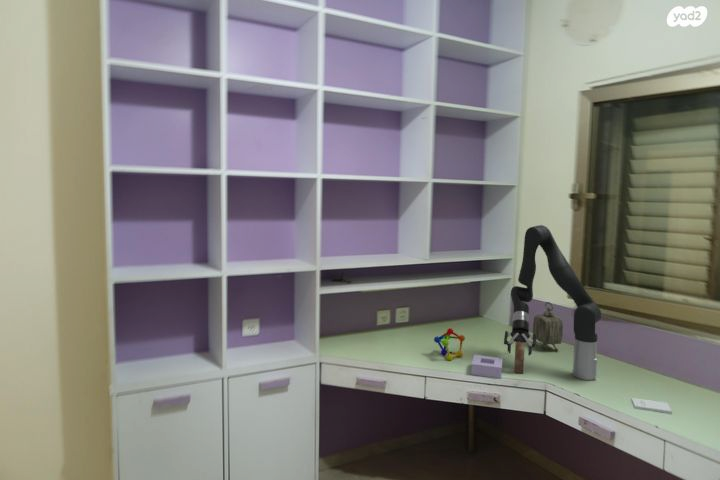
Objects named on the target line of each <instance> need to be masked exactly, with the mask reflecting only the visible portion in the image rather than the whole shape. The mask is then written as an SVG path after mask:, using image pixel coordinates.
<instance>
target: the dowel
mask: <svg viewBox="0 0 720 480" xmlns="http://www.w3.org/2000/svg"><path fill="white" fill-rule="evenodd" d="M525 345H526V344H525V342H516V341H515V346H514V347H515V348H514V349H515V350H514V368H513V369H514V371H513V372H514V373H515V374H517V375H523V374H524V369H525V368H524V367H525V366H524V363H525V349H526V348H525Z"/></svg>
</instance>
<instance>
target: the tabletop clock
mask: <svg viewBox="0 0 720 480" xmlns="http://www.w3.org/2000/svg"><path fill="white" fill-rule="evenodd" d="M547 304H548V305H550V306H551V308H550V307H547ZM544 306H545V309H546V310H545V311H544V312H543V314H536V315H534V317H533V325H532V326H533V327H532V335H533V334H536V341H537V342H540V343H542V345H541V346H540V347H541V349H542V350H543V349H545V346H546V345H552V346H553V348H554V351H555V352H559V349H558V348H557V347H556V345H560V344H562V341H563V335H564V334H563V333H564V331H563V330H564V326H563V325H564V324H563V320H562V318H561V317H559V316H558V315H555V314H554V312H553V309H554V306H553V304H552V303H551V302H550V301H549V302H548V301H547V302H545V305H544Z"/></svg>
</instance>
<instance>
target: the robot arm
mask: <svg viewBox="0 0 720 480" xmlns="http://www.w3.org/2000/svg"><path fill="white" fill-rule="evenodd" d="M524 234H525V235H524V240H523V241H524V242H523V255H522V261H521V267H520V270H519V275H518V278H517V281H518V283H519V284H521V285H523V287H522V286H518V285H517V286H516V285H514V286H513V287H512V288H511V290H510V297H511V301H512V303H513V314H512V320H511V321H512V322H511V323H512V324H511V325H512V326H511V332H510V331H508V330H505V332H504V340H503V344H504V345H506V346H507V353H508V354H511V350H512V349H511V347H512V345H513V344H514V343H516V342H524V343H525V345H526V346H527V348H528V351H527V352H528V356H530V357H531V355H532V354H533V349H534V348H535V349H536V347H537V339H536V334H533V333H532V334H530V332H529V331H530V317H529V316H530V315H529V314H530V313H529V312H530V306H529V305H528V303H531V302H532V300H533V297H534V291H533V284H534V279H535V275H536V271H537V263H536V253H537V250H538V247H540V248H541V249H542V251H543V252H544V254H545V256H546V259H547V266H548V269H549V270H548V271H549V273H550V274H551V276H552V278H553V280H554V281H555V283H556V285H558V287H559V288H560V289H562V291H564V292H565V293H566V294H567V295H568V296H569V297H570V298H571V299H572V300H573V302H574V304H575V305H576V307H577V308H575V310H574V315H573V334H574V344H573V345H574V346H573V358H572V359H573V360H572V361H573V362H572V377H575V378H576V379H580V380H582V381H583V380H586V381H593V380H595V381H596V379H597V378H596V377H597V366H598V365H597V364H598V358H597V350H598V336H599V335H598V334H597V333H596V323H598V322H600V320H601V318H602V310H601V308H600V307H599V306H598V305H597V303H596V302H595V300H593V298H592V297H591V296H590V295H589V293H588V291H586V289H585V287H584V286H583V283H582V282H581V281H580V279H579V277H578V275H577V274H576V273H575V271H574V270H573V268H572V266H571V265H570V264H569V262H568V261H567V259H566V257H565V256H564V254H563V252H562V250H560V248H559V246H558V244H557V242H556V239H555V238H554V236H553V234H552V232H551V230H550V229H549V228H548V227H547V226H545V225H542V224H540V225H534V226H530V227H528V228H527V229H526V231H525V233H524ZM524 286H526V287H524ZM510 336H511V338H510V339H509V341H508V338H509V337H510ZM530 339H531V340H532V343H531V342H530Z"/></svg>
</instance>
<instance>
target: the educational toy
mask: <svg viewBox="0 0 720 480" xmlns="http://www.w3.org/2000/svg"><path fill="white" fill-rule="evenodd" d="M465 337H466V336H465V335H463V334H461V335H459V334H458V333H456V332H454V329H453V328H451V327H449V328H448V329H447V330H446V332H445V333H443V334H442V335H439V336H435V337H434V338H433V341H434V343H436V344H438V346H439V347H440V354H441V355H442V354H443V355H442V356H446V360H447V361H452V360H453V359H454V358H455V357H459V358H462V357H463V356H464V353H463V351H462V348H463V347H462V346H463V342H464V341H465V339H466V338H465ZM450 339H454V340H457V339H458V340H459V349H458V351H457V352H455V351H450V348H449V344H450V343H449V340H450ZM441 343H442V344H441Z"/></svg>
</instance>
